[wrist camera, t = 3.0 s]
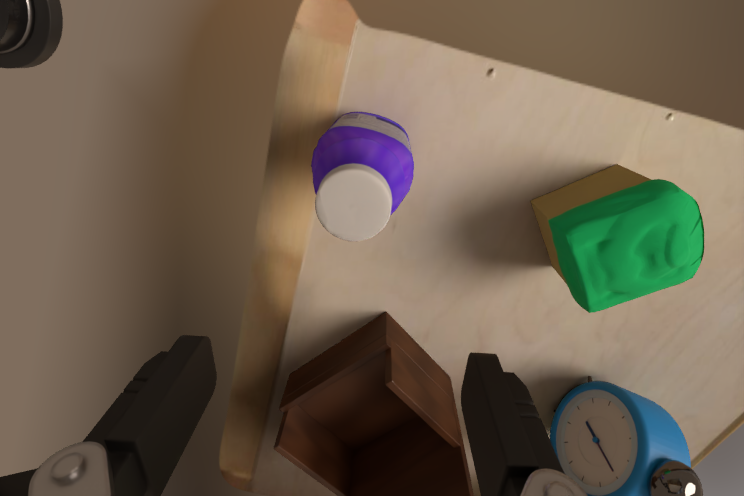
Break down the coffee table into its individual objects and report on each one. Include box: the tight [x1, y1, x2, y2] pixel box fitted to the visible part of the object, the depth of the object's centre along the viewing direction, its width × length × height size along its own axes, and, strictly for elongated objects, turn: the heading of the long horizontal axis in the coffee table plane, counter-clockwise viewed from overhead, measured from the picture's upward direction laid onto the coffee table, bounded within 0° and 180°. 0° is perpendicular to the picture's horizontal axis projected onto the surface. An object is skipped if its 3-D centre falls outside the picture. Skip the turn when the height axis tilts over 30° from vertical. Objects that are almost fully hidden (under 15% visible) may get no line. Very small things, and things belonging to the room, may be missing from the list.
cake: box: [531, 164, 704, 313], centre depth 33 cm, size 10×11×10 cm
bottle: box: [311, 112, 414, 241], centre depth 28 cm, size 7×6×17 cm
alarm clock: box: [550, 376, 703, 496], centre depth 42 cm, size 13×6×15 cm, turn 154°
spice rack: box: [274, 312, 474, 496], centre depth 41 cm, size 13×16×16 cm
